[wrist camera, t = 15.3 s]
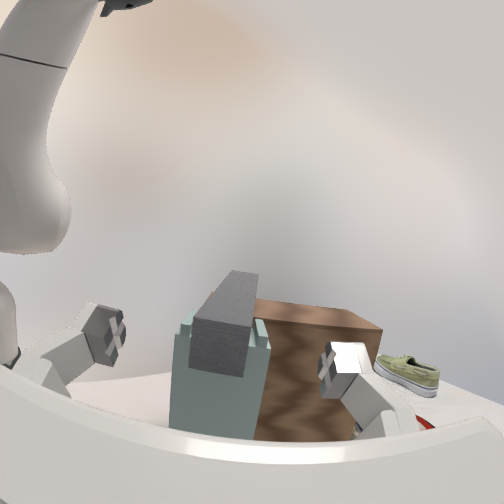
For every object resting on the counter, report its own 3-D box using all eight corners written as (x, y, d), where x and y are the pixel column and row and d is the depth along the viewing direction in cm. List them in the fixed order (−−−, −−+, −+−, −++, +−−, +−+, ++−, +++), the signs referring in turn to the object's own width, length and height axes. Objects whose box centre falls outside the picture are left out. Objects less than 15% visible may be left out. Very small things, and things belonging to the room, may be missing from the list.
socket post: (169, 511, 23) (176, 322, 22) (176, 483, 29) (188, 308, 28) (233, 521, 23) (273, 337, 23) (233, 491, 29) (266, 320, 29)
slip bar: (188, 367, 17) (193, 316, 17) (228, 295, 39) (232, 270, 39) (242, 378, 17) (251, 327, 17) (254, 300, 39) (258, 274, 39)
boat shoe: (384, 365, 90) (390, 342, 90) (443, 393, 63) (453, 367, 63) (364, 368, 87) (370, 344, 87) (426, 401, 60) (436, 372, 60)
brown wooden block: (185, 474, 31) (200, 308, 31) (196, 428, 44) (211, 291, 44) (331, 481, 32) (383, 329, 32) (313, 438, 45) (347, 309, 45)
